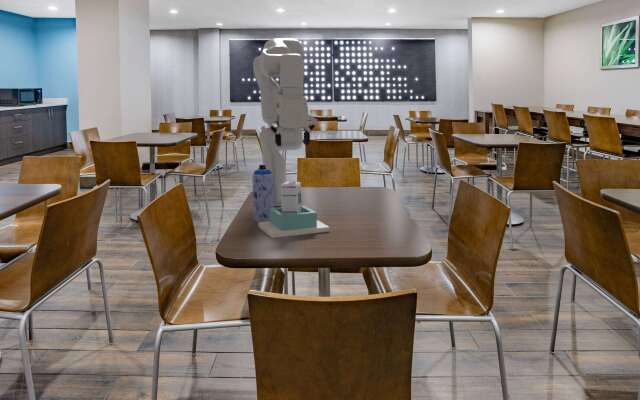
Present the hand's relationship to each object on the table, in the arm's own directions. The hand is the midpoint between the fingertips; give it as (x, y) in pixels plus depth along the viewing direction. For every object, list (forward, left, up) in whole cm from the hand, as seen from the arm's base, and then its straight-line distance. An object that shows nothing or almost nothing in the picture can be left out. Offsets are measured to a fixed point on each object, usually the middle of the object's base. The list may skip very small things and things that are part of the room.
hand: (292, 145), depth 180 cm
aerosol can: (-16, -6, -29) cm, 33 cm away
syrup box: (+1, -1, -27) cm, 27 cm away
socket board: (+2, -1, -28) cm, 28 cm away
